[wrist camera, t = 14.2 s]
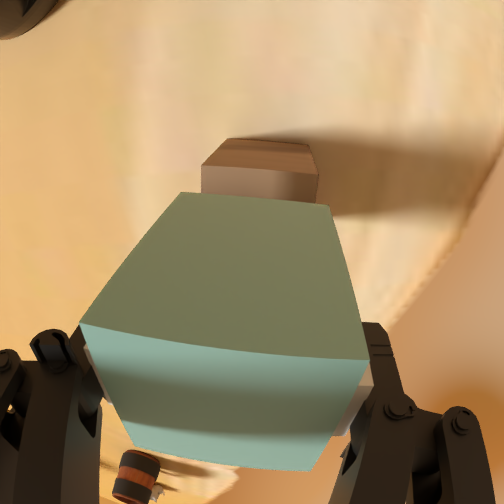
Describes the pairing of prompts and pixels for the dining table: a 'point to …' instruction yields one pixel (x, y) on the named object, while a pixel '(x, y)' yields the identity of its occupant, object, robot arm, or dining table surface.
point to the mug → (136, 477)
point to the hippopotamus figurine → (156, 492)
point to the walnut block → (261, 171)
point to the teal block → (231, 333)
